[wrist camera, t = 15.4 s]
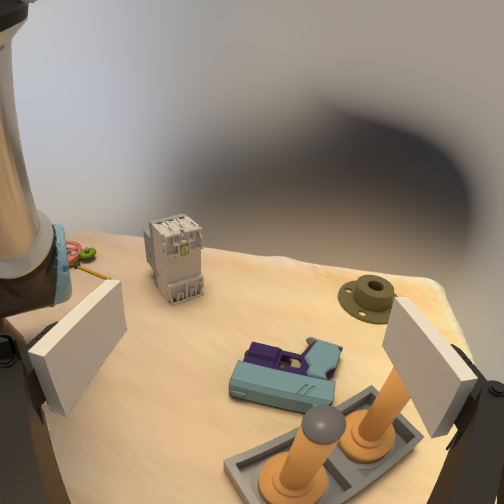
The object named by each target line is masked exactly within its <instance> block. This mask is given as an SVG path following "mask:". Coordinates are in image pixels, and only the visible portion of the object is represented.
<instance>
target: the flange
mask: <svg viewBox="0 0 504 504" xmlns="http://www.w3.org/2000/svg"><path fill="white" fill-rule="evenodd" d="M345 290H350V291H352V292H351V293H348V292H346V291H345ZM394 297H398V296H397V295H396V294H395V293H394V288H393V286H392V284H391V283H390V282H389V281H387V280H386V279H384V278H382V277H379V276H375V275H364V276H361V277H359V278H358V280H357V281H351V282H348V283H346V284H344V285H343V286H342V287H341V288H340V290H339V293H338V300H339V303H340V305H341V306H342V308H343V309H344V310H345V311H346V312H347V313H349V314H350V315H351V316H353V317H355V318H356V319H359V320H361V321H364V322H367V323H371V324H388V321H389V318H390V313H391V310H390V309H392V305H393V301H394ZM359 312H363V313H365V314H366V316H362V315H360V314H359Z"/></svg>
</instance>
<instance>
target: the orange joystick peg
mask: <svg viewBox="0 0 504 504" xmlns="http://www.w3.org/2000/svg"><path fill="white" fill-rule="evenodd" d="M345 430H346V419H345V417H344V415H343V414H342V413H341V412H340V411H339V410H338V409H336V408H334V407H332V406H329V405H318V406H314V407H312V408H310V409H309V410H308V411H307V412H306V413H305V415H304V417H303V419H302V422H301V424H300V427H299V429H298V432H297V434H296V437H295V439H294V442H293V444H292V447H291V449H290V451H289V452H284V453H280V454H278V455H275V456H274V457H272V458H270V459H269V460H268V461H267V462H266V463H265V464H264V466H263V467H262V469H261V472H260V475H259V478H258V491H259V493H260V496H261V497H262V499H263V500H264V501H265V502H266V503H267V504H314V503H315V502H316V501H317V500H318V499H319V498H320V497H321V496H322V495H323V493H324V491H325V489H326V486H327V474H326V471H325V469H324V467H323V466H322V465H323V463H324V462H325V461H326V459H327V458H328V456H329V455H330V453H331V452H332V450H333V449H334V447H335V446H336V444H337V443H338V441H339V440H340V438H341V437H342V435H343V434H344V432H345Z"/></svg>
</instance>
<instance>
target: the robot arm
mask: <svg viewBox="0 0 504 504" xmlns="http://www.w3.org/2000/svg"><path fill="white" fill-rule="evenodd" d="M35 1H36V0H0V504H71V503H70V500H69V497H68V495H67V492H66V489H65V486H64V483H63V480H62V478H61V474H60V471H59V468H58V465H57V462H56V458H55V455H54V451H53V448H52V444H51V440H50V436H49V432H48V428H47V424H46V419H45V415H44V411H43V409H42V407H41V405H42V404H43V403H44V401H45V400H46V401H47V404H48V406H49V408H50V411H52V412H55V413H57V414H60V415H63V416H66V417H67V415H68V414H69V412H70V411H71V409H72V408H73V406H74V405H75V403H76V402H77V400H78V399H79V397H80V396H81V394H82V393H83V391H84V390H85V389H86V387H87V386H88V384H89V383H90V381H91V380H92V378H93V377H94V376H95V374H96V373H97V371H98V370H99V368H100V367H101V366H102V364H103V363H104V361H105V360H106V358H107V357H108V356H109V354H110V353H111V351H112V350H113V349H114V347H115V346H116V345H117V343H118V342H119V340H120V339H121V338H122V336H123V335H124V334H125V332H126V331H127V327H126V320H125V312H124V304H123V296H122V287H121V281H118V280H109V279H107V280H106V281H105V282H104V283H102V284H101V285H100V286H99V287H98V288H97V289H95V290H94V291H93V292H92V293H91V294H90V295H89V296H87V297H86V298H85V299H84V300H83V301H82V302H81V303H79V304H78V305H77V306H76V307H75V308H74V309H73V310H72V311H71V312H69V313H68V314H67V315H66V316H65V317H64V318H63V319H62V320H61V321H60V322H55V323H53V324H51V325H49V326H47V327H46V328H45V329H44V330H43V331H42V332H41V334H38V335H37V336H36V337H35V339H33V340H32V341H31V342H30V343H29V344H28V345H27V344H26V342H25V340H24V338H23V336H22V335H21V334H20V333H19V332H18V331H17V330H16V329H15V328H14V326H13V325H12V324H11V323H10V322H9V321H8V320H7V319H6V318H5V317H9V316H13V315H17V314H21V313H25V312H29V311H33V310H37V309H41V308H46V307H54V306H55V305H57V304H60V303H63V302H66V301H68V300H69V299H70V297H71V295H72V286H71V278H70V271H69V264H68V256H67V248H66V240H65V233H64V228H63V226H61V225H55V224H51V222H50V220H49V218H48V217H47V216H46V215H45V214H44V213H42V212H41V211H39V210H37V209H36V207H35V204H34V200H33V196H32V192H31V188H30V184H29V180H28V176H27V171H26V167H25V162H24V157H23V152H22V147H21V141H20V135H19V129H18V123H17V116H16V109H15V99H14V89H13V75H12V54H11V41H12V38H13V37H14V35H15V34H16V33H17V32H18V30H19V29H20V28H21V27H22V25H23V24H24V23H25V22H26V21H27V17H28V4H29V3H34V2H35ZM382 346H383V348H384V350H385V351H386V353H387V355H388V357H389V359H390V360H391V362H392V364H393V366H394V368H395V369H396V371H397V373H398V375H399V377H400V379H401V380H402V382H403V384H404V386H405V388H406V390H407V392H408V394H409V396H410V397H411V399H412V401H413V403H414V405H415V407H416V409H417V411H418V413H419V415H420V417H421V419H422V421H423V423H424V425H425V427H426V429H427V431H428V433H429V435H430V437H431V438H435V437H439V436H444V435H447V434H448V433H449V431H450V429H451V428H452V426H453V424H455V426H456V427H457V429H458V431H457V432H456V434H455V435H454V437H453V439H452V440H451V442H450V443H449V445H448V446H447V448H446V450H448V449H449V448H450V449H449V452H448V454H447V457H446V460H445V462H444V465H443V467H442V470H441V472H440V475H439V477H438V480H437V482H436V484H435V486H434V489H433V491H432V493H431V495H430V497H429V499H428V502H427V504H495V500H496V496H497V504H504V384H502V383H500V382H498V381H493V380H491V381H487V380H486V379H485V377H484V376H483V375H482V374H481V373H480V371H479V370H478V369H477V368H476V366H475V365H474V364H472V362H471V361H470V359H469V358H467V356H466V355H465V354H464V352H463V351H462V350H461V349H459V348H458V347H456V346H455V345H453V344H449V343H448V341H447V340H446V339H445V338H444V337H443V336H442V335H441V333H440V332H439V331H438V330H437V329H436V328H435V327H434V325H433V324H432V323H431V322H430V321H429V320H428V319H427V318H426V316H425V315H424V314H423V313H422V312H421V311H420V310H419V309H418V308H417V307H416V306H415V304H414V303H413V302H412V301H411V300H410V299H409V298H408V297H394V301H393V305H392V309H391V313H390V318H389V321H388V325H387V329H386V333H385V337H384V340H383V344H382Z"/></svg>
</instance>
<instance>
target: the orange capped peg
mask: <svg viewBox="0 0 504 504" xmlns="http://www.w3.org/2000/svg"><path fill="white" fill-rule="evenodd" d="M410 398H411V397H410V396H409V394H408V392H407V390H406V388H405V386H404V384H403V382H402V380H401V379H400V377H399V375H398V373H397V371H396V369H395V368H394V367H393V369H392V371H391V373H390V375H389V376H388V378H387V380H386V382H385V383H384V385H383V387H382V389H381V390H380V392H379V394H378V395H377V397H376V399H375V400H374V402H373V404H372V405H371V407H370V409H369V410H359V411H355V412H353V413H351V414H350V415H348V416H347V417H346V418H345V419H346V430H345V432H344V434H343V435H342V437H341V438H340V440H339V441H338V443H337V447H338V448H339V449H340V450H341V452H342V453H343V454H344V455H345V456H346V457H347V459H348V460H350V461H352V462H354V463H358V464H370V463H374V462H376V461H378V460H380V459H381V458H382V457H384V455H385V454H386V453H387V452H388V451H389V450H390V449H391V448H392V446H393V444H394V441H395V430H394V427H393V425H392V423H393V421H394V420H395V419H396V417H397V416H398V415H399V413H400V412H401V411H402V409H403V408H404V406H405V405H406V404H407V402H408V401H409V399H410Z"/></svg>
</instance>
